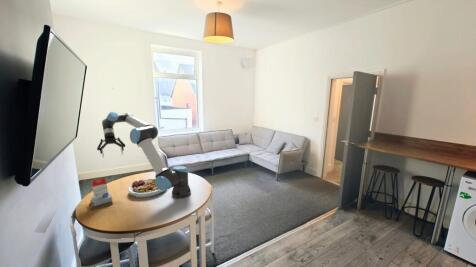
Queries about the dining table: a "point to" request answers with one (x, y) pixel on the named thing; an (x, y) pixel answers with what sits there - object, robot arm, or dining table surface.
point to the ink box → (99, 188)
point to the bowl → (144, 188)
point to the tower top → (101, 200)
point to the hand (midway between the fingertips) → (113, 155)
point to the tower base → (100, 205)
